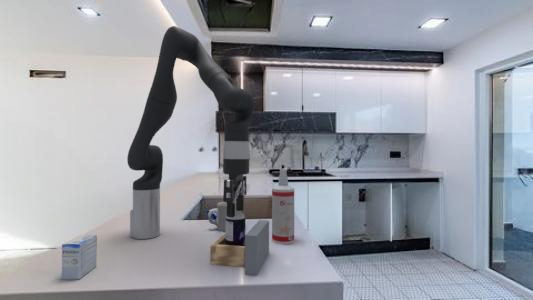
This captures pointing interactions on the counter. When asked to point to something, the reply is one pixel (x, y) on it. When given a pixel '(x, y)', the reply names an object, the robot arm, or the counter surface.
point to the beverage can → (235, 229)
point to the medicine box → (79, 256)
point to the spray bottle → (283, 211)
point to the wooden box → (227, 253)
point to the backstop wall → (256, 247)
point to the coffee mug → (220, 216)
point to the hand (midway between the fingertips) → (235, 213)
